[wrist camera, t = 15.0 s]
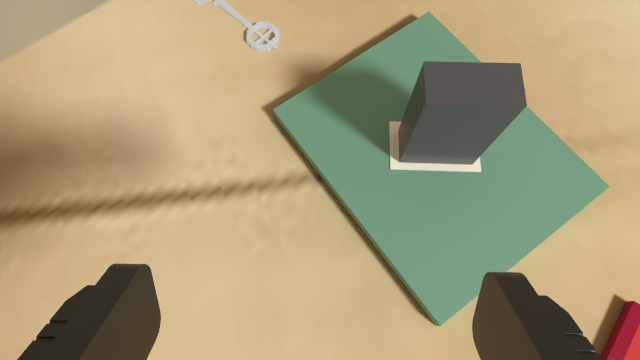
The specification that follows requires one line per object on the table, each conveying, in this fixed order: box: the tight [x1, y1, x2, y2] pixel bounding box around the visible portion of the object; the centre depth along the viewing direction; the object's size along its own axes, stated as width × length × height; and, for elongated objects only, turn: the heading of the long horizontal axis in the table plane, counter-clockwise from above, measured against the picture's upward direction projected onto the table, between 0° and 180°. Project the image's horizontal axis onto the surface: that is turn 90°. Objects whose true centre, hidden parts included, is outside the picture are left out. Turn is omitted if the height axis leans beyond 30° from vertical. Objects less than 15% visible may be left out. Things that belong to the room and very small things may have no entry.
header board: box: [273, 12, 609, 326], centre depth 33 cm, size 22×18×4 cm
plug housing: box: [398, 61, 527, 165], centre depth 29 cm, size 3×6×10 cm, turn 88°
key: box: [194, 0, 279, 52], centre depth 40 cm, size 12×1×3 cm
